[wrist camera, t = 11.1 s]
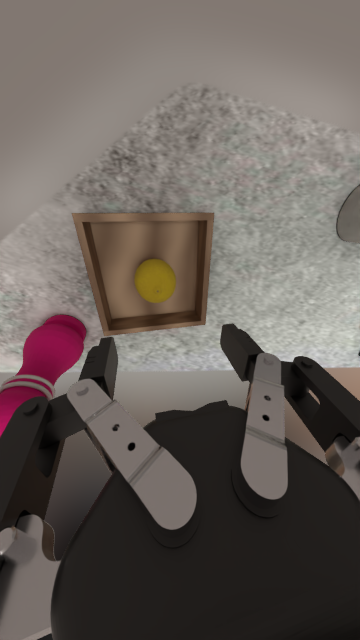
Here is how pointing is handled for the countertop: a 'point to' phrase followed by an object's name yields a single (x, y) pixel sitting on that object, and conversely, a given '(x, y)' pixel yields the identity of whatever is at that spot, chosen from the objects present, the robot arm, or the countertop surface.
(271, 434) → the robot arm
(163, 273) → the lemon
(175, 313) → the tray
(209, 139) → the countertop surface
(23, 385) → the pepper mill
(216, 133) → the countertop surface
